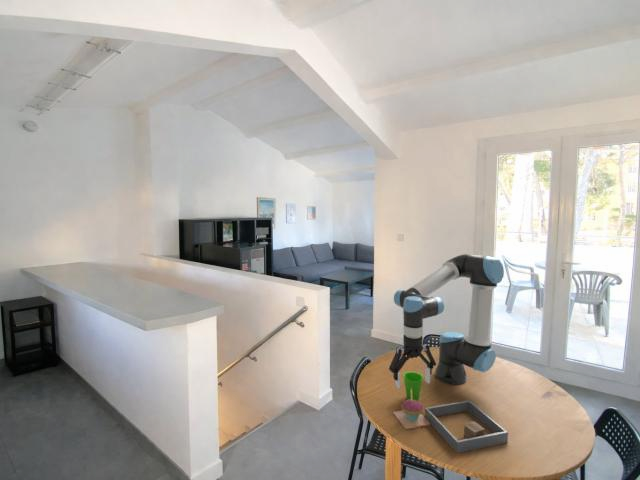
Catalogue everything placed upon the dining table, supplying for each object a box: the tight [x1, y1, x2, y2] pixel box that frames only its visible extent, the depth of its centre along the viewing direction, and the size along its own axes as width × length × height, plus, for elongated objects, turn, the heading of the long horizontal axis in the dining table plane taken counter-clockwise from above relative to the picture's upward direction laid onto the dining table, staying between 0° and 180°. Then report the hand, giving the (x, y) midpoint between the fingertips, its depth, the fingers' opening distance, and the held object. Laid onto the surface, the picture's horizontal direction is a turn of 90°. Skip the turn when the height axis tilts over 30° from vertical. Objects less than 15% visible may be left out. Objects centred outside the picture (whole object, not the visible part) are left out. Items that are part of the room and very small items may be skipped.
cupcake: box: [401, 388, 424, 421], centre depth 141 cm, size 9×8×12 cm
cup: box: [402, 371, 424, 402], centre depth 156 cm, size 9×9×11 cm
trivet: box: [392, 409, 431, 430], centre depth 142 cm, size 11×11×1 cm
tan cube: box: [463, 420, 486, 439], centre depth 130 cm, size 5×5×5 cm
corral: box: [424, 400, 509, 454], centre depth 135 cm, size 22×22×4 cm
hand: (412, 384), depth 141 cm, fingers open, 13 cm apart
